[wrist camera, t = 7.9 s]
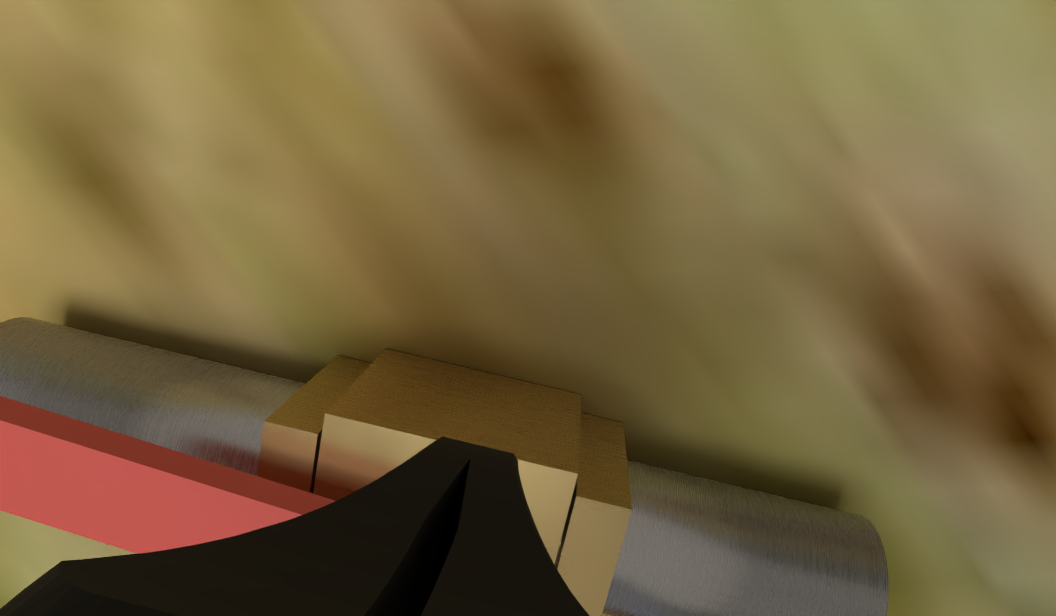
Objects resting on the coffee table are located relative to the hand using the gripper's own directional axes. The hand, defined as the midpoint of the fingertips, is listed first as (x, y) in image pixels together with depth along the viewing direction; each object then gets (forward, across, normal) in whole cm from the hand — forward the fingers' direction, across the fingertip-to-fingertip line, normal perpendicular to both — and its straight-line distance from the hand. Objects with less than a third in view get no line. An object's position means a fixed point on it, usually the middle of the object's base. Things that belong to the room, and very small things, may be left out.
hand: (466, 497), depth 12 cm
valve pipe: (+10, +1, +5) cm, 12 cm away
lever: (+5, +6, +5) cm, 9 cm away
